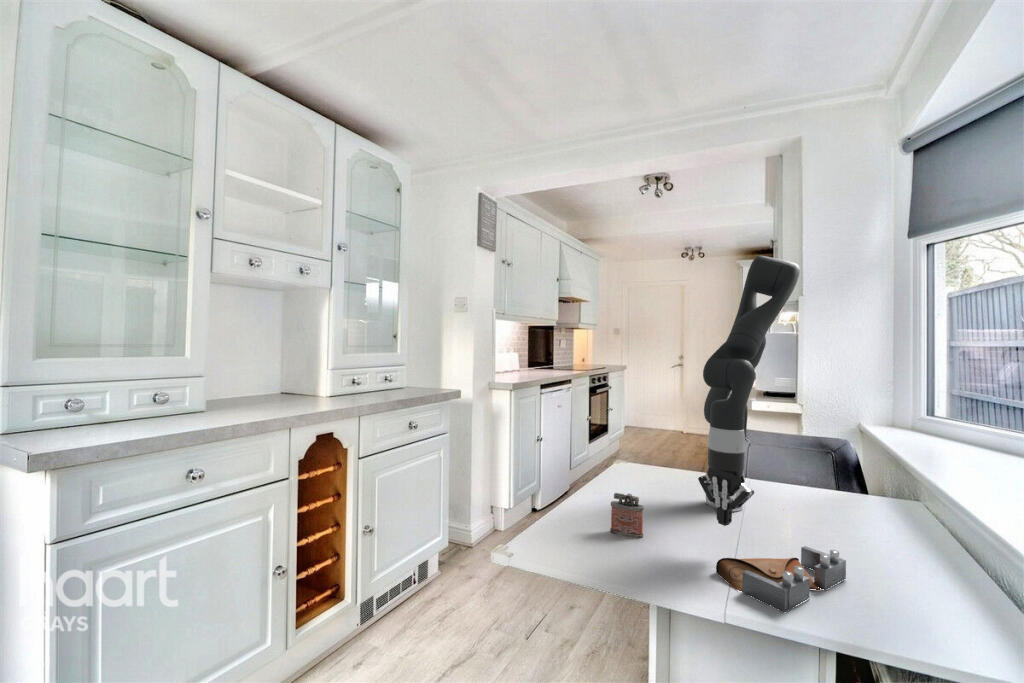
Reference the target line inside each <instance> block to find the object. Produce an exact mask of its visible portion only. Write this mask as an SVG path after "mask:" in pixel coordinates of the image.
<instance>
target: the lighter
mask: <svg viewBox="0 0 1024 683" xmlns="http://www.w3.org/2000/svg"><path fill="white" fill-rule="evenodd" d="M613 499H614V500H611V501H610V506H611V510H610V511H611V512H610V515H611V517H610V519H611V520H610V532H609V533H610V534H611V535H615V536H620V537H623V538H630V539H638V540H639V539H643V538H644V533H643V529H644V528H643V526H644V520H643V518H644V510H645V508H644V505H643V504H640V497H639V496H635V495H633V494H631V493H627V494H624V493H620V492H619V493H618V492H614V494H613ZM615 499H616V500H615Z"/></svg>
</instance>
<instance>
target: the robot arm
mask: <svg viewBox="0 0 1024 683" xmlns="http://www.w3.org/2000/svg"><path fill="white" fill-rule="evenodd" d="M800 269H801V268H800V266H799V264H797V263H795V262H792V261H788V260H784V259H780V258H777V257H776V258H775V257H772V256H771V257H770V256H765V255H757V256H756V257H755V258H754V259H753V260H752V262H751V264H750V267H749V269H748V272H747V275H746V278H745V282H744V286H743V290H742V294H741V298H740V302H739V306H738V310H737V313H736V316H735V319H734V322H733V325H732V327H731V330H730V333H729V335H728V336H727V339H726V341H725V342H723V344H722V345H720V347H719V348H718V349H716V351H714V353H713V354H711V356H710V357H709V358H708V359H707V360H706V363H705V364H704V366H703V371H702V377H703V381H704V383H705V384H706V386H708V387H709V388H710V389H709V391H708V393H707V396H706V398H705V401H704V406H703V414H704V415H703V417H704V419H705V420H706V422H707V423H709V431H708V442H707V443H708V444H707V466H708V468H707V471H706V472H705V474H704V475H702V476H698V478H697V480H698V481H699V482H698V483H699V484H700V486H701V487H702V489H703V492H704V494H705V504H707V505H708V506H710V507H711V508H714V509H716V521H717V523H718V525H721V526H723V527H726V526H729V525H730V524H731V523H732V521H733V520H732V519H733V518H732V516H733V512H739V511H740V512H741V511H742V510H743V508H744V504H745V503H746V502H747V501H748V500H749V499H751V498H752V496H754V495H755V490H754V489H752V488H749V487H748V486H747V485H746V484H745V482H746V481H745V478H744V471H745V460H746V459H745V456H746V455H745V453H746V449H745V448H746V439H747V426H748V425H747V424H748V417H749V416H748V400H749V397H750V394H751V392H752V389H753V387H754V383H755V379H756V370H755V369H756V368H757V366H758V365H759V363H760V361H761V359H762V355H763V353H764V351H765V348H766V344H767V338H766V335H767V333H768V331H769V330H770V327H771V326H772V324H773V323H774V322H775V320H776V318H777V317H778V316H779V314H780V313H781V311H782V309H783V308H784V306H785V305H786V304H787V302H788V300H789V298H790V297H791V295H792V294H793V291H794V290H795V289H796V288H795V287H796V285H797V283H798V280H799V276H800V272H801V270H800ZM758 294H761V295H765V296H769V297H770V299H769V300H767V301H766V302H764V303H763V304H761V305H759V306H757V295H758Z"/></svg>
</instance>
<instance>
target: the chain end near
mask: <svg viewBox="0 0 1024 683" xmlns="http://www.w3.org/2000/svg"><path fill="white" fill-rule="evenodd" d="M804 569H805V567H803V568H802V567H800V566H794V576H793V574H792V573H791V572H788V571H783V578H782V582H780V583H776V582H774V581H772V580H769V579H767V578H765V577H762V576H760V575H758V574H755V573H753V572H750V571H748V570H746V571H744V572H743V579H742V592H741V594H744V595H746V596H748V595H749V596H748V597H750V596H752V597H754V598H755V600H756V599H758V600H760V601H759V602H761V601H762V602H761V603H763V602H764V603H763V604H765V603H766V604H765V605H767V604H768V605H767V606H769V605H771V606H772V607H771V606H770V607H771V608H773V607H774V608H773V609H775V608H776V609H775V610H777V609H779V610H778V611H780V612H782V611H783V612H782V613H784V612H786V613H787V612H789V611H791V610H793V609H794V608H793V607H795V606H796V605H798V604H800V603H801V602H803V601H805V600H807V599H808V598H809V599H810V593H811V590H810V578H808V577H806V576H804ZM752 597H751V598H752ZM754 598H753V599H754ZM758 600H757V601H758ZM800 605H801V604H800ZM792 608H793V609H792ZM795 608H796V607H795ZM790 609H791V610H790ZM788 610H789V611H788Z"/></svg>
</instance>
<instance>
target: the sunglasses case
mask: <svg viewBox="0 0 1024 683" xmlns="http://www.w3.org/2000/svg"><path fill="white" fill-rule="evenodd" d="M794 566H800V567H802V568H804V567H803V566H802V565H801V561H799V558H798V557H789V558H770V557H769V558H763V557H759V558H757V557H755V558H735V557H722V558H720V559H718V560H717V561H716V564H715V571H716V572H715V573H716V574H717V573H718V574H719V575H720V576H721V577H720V576H719V575H718V574H717V575H718V576H719V577H720V578H721V579H722V580H724V581H725V580H726V581H727V582H728V583H729V586H731V587H732V588H733V587H734V588H735V589H734V588H733V589H734V590H736V589H737V590H739V591H742V579H743V572H744V571H746V570H748V571H750V572H753V573H755V574H758V575H760V576H762V577H765V578H767V579H769V580H772V581H774V582H776V583H780V582H782V578H783V571H788V572H791V573H792V574H793V576H794ZM804 576H806V577H808V578H810V589H816V590H820V588H818V587H817V586H816V584H815V583H814V579H812V577H811V576H810V574H809V573H808V572H807V571H806V568H804ZM726 581H725V582H726ZM727 582H726V583H727ZM728 583H727V584H728ZM737 590H736V591H737Z"/></svg>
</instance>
